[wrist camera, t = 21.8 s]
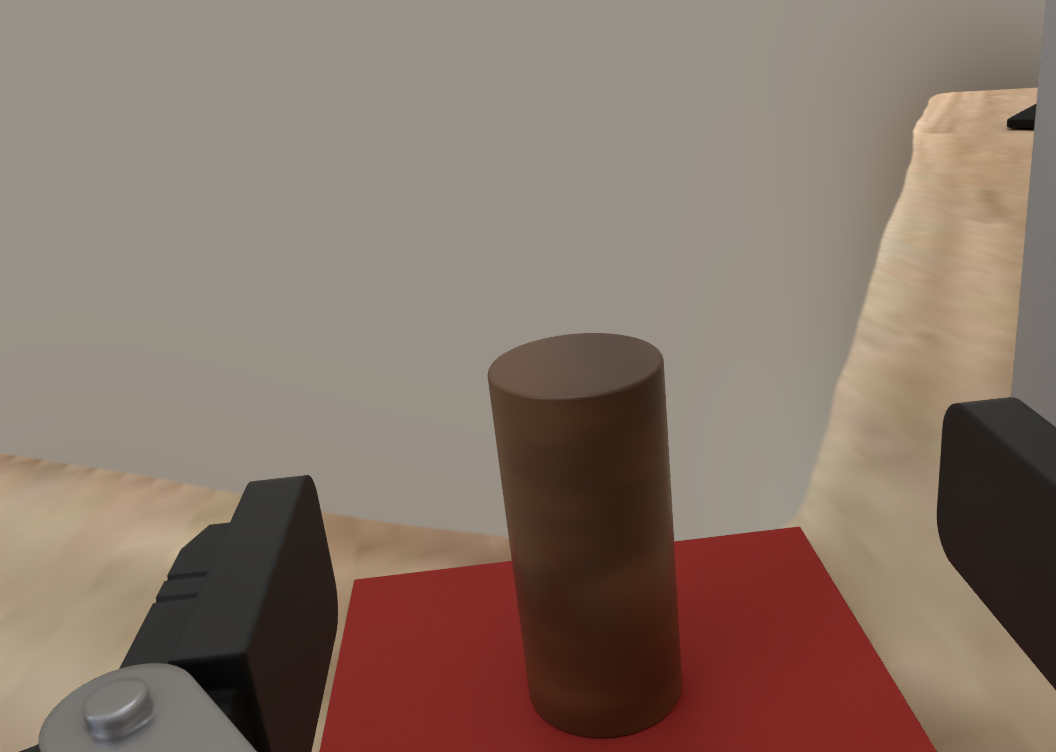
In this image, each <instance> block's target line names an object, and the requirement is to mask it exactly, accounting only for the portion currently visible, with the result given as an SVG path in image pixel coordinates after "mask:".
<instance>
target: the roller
mask: <svg viewBox="0 0 1056 752" xmlns="http://www.w3.org/2000/svg"><path fill="white" fill-rule="evenodd" d="M488 382H489V389H490V397H491V405H492V411H493V419H494V427H495V435H496V442H497V450H498V458H499V466H500V473H501V481H502V489H503V496H504V503H505V512H506V519H507V527H508V535H509V542H510V550H511V558H512V565H513V573H514V581H515V588H516V596H517V604H518V611H519V619H520V627H521V634H522V642H523V650H524V657H525V665H526V673H527V680H528V688H529V694H530V699H531V701H532V704H533V706H534V707H535V709H536V711H537V712H538V713H539V714H540V715H541V716H542V718H544V719H545V720H546V721H547V722H548V723H550V724H551V725H553V726H555V727H556V728H558V729H560V730H563V731H565V732H568V733H571V734H574V735H578V736H583V737H590V738H613V737H620V736H626V735H630V734H633V733H637V732H639V731H642V730H644V729H646V728H648V727H650V726H652V725H654V724H656V723H657V722H659V721H660V720H662V719H663V718H664V717H665V716H666V715H667V714H668V713H669V712H670V711H671V710H672V709H673V707H674V706H675V704H676V702H677V701H678V698H679V696H680V693H681V689H682V671H681V654H680V636H679V619H678V602H677V584H676V567H675V550H674V533H673V515H672V499H671V482H670V464H669V447H668V429H667V412H666V395H665V379H664V361H663V357H662V354H661V353H660V351H659V350H658V349H657V348H656V347H655V346H653V345H652V344H650V343H648V342H646V341H643V340H640V339H637V338H634V337H629V336H624V335H617V334H605V333H583V334H569V335H562V336H555V337H550V338H545V339H541V340H537V341H533V342H530V343H527V344H524V345H521V346H519V347H516V348H514V349H512V350H510V351H508V352H506V353H504V354H503V355H501V356H500V357H498V358H497V359H496V360H495V361H494V362H493V363H492V365H491V366H490V368H489V371H488Z"/></svg>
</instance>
